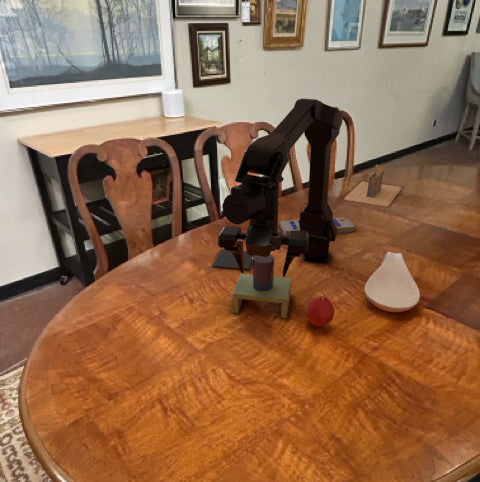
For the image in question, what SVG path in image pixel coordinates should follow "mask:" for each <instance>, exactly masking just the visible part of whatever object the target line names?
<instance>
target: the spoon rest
mask: <svg viewBox="0 0 480 482" xmlns="http://www.w3.org/2000/svg"><path fill="white" fill-rule="evenodd" d="M364 293H365V297H366V298H367V300H368V301H369V302H370V303H371V304H372V305H373V306H375V307H376V308H378V309H379V310H382V311H384V312H391V313H402V312H406V311H409V310H410V309H413V308H415V306H416V305H418V303H419V301H420V299H421V295H420V289H419V287H418V285H417V283H416V281H415V279H414V278H413V275H412V273H411V272H410V270H409V269H408V266H407V264H406V262H405V260H404V256H403V253H402V252H397V253H395V252H391V251H388V252H386V254H385V256H384V258H383V259H382V262H381V265H380V266H379V267H378V268H377V269H376V270H375V271H374V272H373V273H372V275H371V276H369V278H368V279H367V281H366V283H365V285H364Z"/></svg>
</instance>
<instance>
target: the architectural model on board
mask: <svg viewBox="0 0 480 482" xmlns="http://www.w3.org/2000/svg"><path fill="white" fill-rule="evenodd" d="M374 166H375V171H374V172H373V173H372V174H371V175H370V176H369V177H368V181H360V182H359V183H358V184H357V185H356V186H355V187H354V188H353V189H352V190H351V191H350V192H349V193H348V194H347V195H345V196H344V198H343V200H345V201H350V202H355V203H362V204H368V205H374V206H380V207H387V208H388V207H389V206H390V205H391V203H392V202H393V200H394V199H395V197H396V196H397V195H398V194H399V192H400V191H401V190H402V189H403V187H402V186H398V185H391V184H384V183H383V178H384V173H385V172H384V170H385V169H384V167H382V166H380V165H379V164H377V163H376V165H374Z"/></svg>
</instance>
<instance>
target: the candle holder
mask: <svg viewBox="0 0 480 482" xmlns="http://www.w3.org/2000/svg"><path fill="white" fill-rule="evenodd" d="M251 275H252V287H253V288H254V289H255V290H258V291H268V290H271V289H272V288H273V286H274V277H275V256H273V254H271V253H270V255H269V256H268V257H262V256H255V255H254V256H253V257H252V264H251Z"/></svg>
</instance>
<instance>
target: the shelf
mask: <svg viewBox="0 0 480 482" xmlns="http://www.w3.org/2000/svg"><path fill="white" fill-rule="evenodd" d="M231 294H232V313H235V314H236V313H237V314H239V311H240V309H241V306H242V303H243V301H244V300H247V301H248V300H249V301H258V302H268V303H276V304H281V307H280V308H281V309H280V319H281V318H282V319H287V316H288V312H289V307H290V301H291V295H292V277H283V276H282V277H281V276H274V286H273V288H272V289H271V290H268V291H258V290H255V289H254V288H253V287H252V273H251V274H250V273H240V274H239V277H238V278H237V281H236V284H235V286H234V288H233V291H232V293H231Z"/></svg>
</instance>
